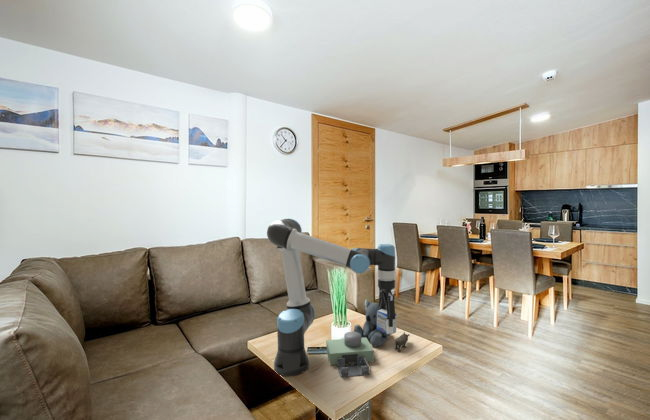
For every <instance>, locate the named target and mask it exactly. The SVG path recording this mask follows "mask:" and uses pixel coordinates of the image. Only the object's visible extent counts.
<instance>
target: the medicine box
mask: <svg viewBox="0 0 650 420" xmlns="http://www.w3.org/2000/svg"><path fill="white" fill-rule="evenodd" d="M386 318H388V317H387V310H384V309H380V310H378V311H377V330H380V331H382V332H385V333H387V320H386ZM396 333H397V313H396V312H395V319H393V334H396ZM393 334H389V336H392V335H393Z"/></svg>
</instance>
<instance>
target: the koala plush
mask: <svg viewBox="0 0 650 420" xmlns="http://www.w3.org/2000/svg"><path fill="white" fill-rule="evenodd" d="M378 304H379V303H378V302H371V301H370V300H369V299H364V306H365V308H364V309H365V322H364V324H363V327H362V326H361V325H360V324H356V325H354V328H353V332H358V333H360V334H361V338H365V337H366V338H367V339H368V341H370V345H371V346H372V348H373V347H374V348H378V347H380V346H382V345H383V344H385V343H386V342H387V341H388V339H389V337H390V335H389V334H387V333H385V332H382V331H380V330H377V311H378V310H380V309H379V308H380V307H378Z"/></svg>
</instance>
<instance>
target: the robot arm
mask: <svg viewBox="0 0 650 420" xmlns="http://www.w3.org/2000/svg"><path fill="white" fill-rule="evenodd" d="M266 231H267V232H266V236H267V238H268V240H269V242H270V243H271V244H272V245H274V246H276V249H277V250H279V251H280V253H281V254H280V255H281V260H282V265H283V272H284V277H285V283H286V290H287V296H288V301H287V302H286V310H283V311H281V312H280V313H279V314H278V315H277V318H276V319H277V322H276V328H277V331H276V333H277V352H276V355H275V358H274V361H273V368H274V369H273V370H274V371H275V372H276V373H277V374H278V375H280V376H284V377H285V376H286V377H291V376H297V375H300V374H302V373H305V372H306V371H307V370H308V369H309V366H310V365H309V357H308V354H307V352H306V347H305V333H306V332H307V330H308V329H309V328H310V326H311V325H312V324H313V322H314V320H315V317H316V310H315V308H314V306H313V304H311V298H309V297H307V292H306V286H305V279H304V274H303V267H302V261H301V257H300V256H301V254H300V252H301V253H302V252H303V253H305V254H308V255H311V256H314V257H317V258H320V259H322V260H325V261H328V262H332V263H334V264H337V265H340V266H344V267H345V268H348V269H351V270H352V271H353V272H354V273H356V274H363V273H365V272H366V271H367V270H368V269H369V268H370V266H374V267H375V266H377V278H378V279H377V288H378V290H379V291H378V293H379V294H378V303H377V304H378V307H380V308H379V309H384V310H387V317H388V318H386V320H387V334H391V335H393V319H395V313H396V308H395V295H393V292H392V290H394V289H395V288H396V280H395V279H396V274H397V272H396V247H395V246H394V245H393V244H391V243H390V244H389V243H384V244H383V243H382V244H378V245H377V248H367V247H366V248H365V247H364V248H363V247H362V248H361V247H356V248H355V247H354V248H353V247H352V249H351V248H348V247H345V246H342V245H339V244H336V243H333V242H330V241H327V240H324V239H321V238H317V237H315V236H311V235H308V234H305V233H303V231H302V227H301V224H300V222H298V221H297V220H295V219H292V218H283V219H278V220H274V221H272V222H271V223H270V224H269V226H268V227H267V230H266Z"/></svg>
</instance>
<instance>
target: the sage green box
mask: <svg viewBox="0 0 650 420" xmlns="http://www.w3.org/2000/svg"><path fill="white" fill-rule="evenodd" d="M343 335H344V336H343V337H344V338H340V339H327V340H326V343H325V344H326V347H325V348H327V351H326V353H327V359H328V362H329V365H332V366H334V365H338V358H345V364H356V363H357V357H359V356H364V357H365V359H366V361H367V363H368V362H372V363H373V362H374V361H375V350H374V348H373V346H372V345H371V342H370V340H369V339H368V338H366V337H365V338H361V334H360V333H358V332H354V331H347V332H345V333H344V334H343Z"/></svg>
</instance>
